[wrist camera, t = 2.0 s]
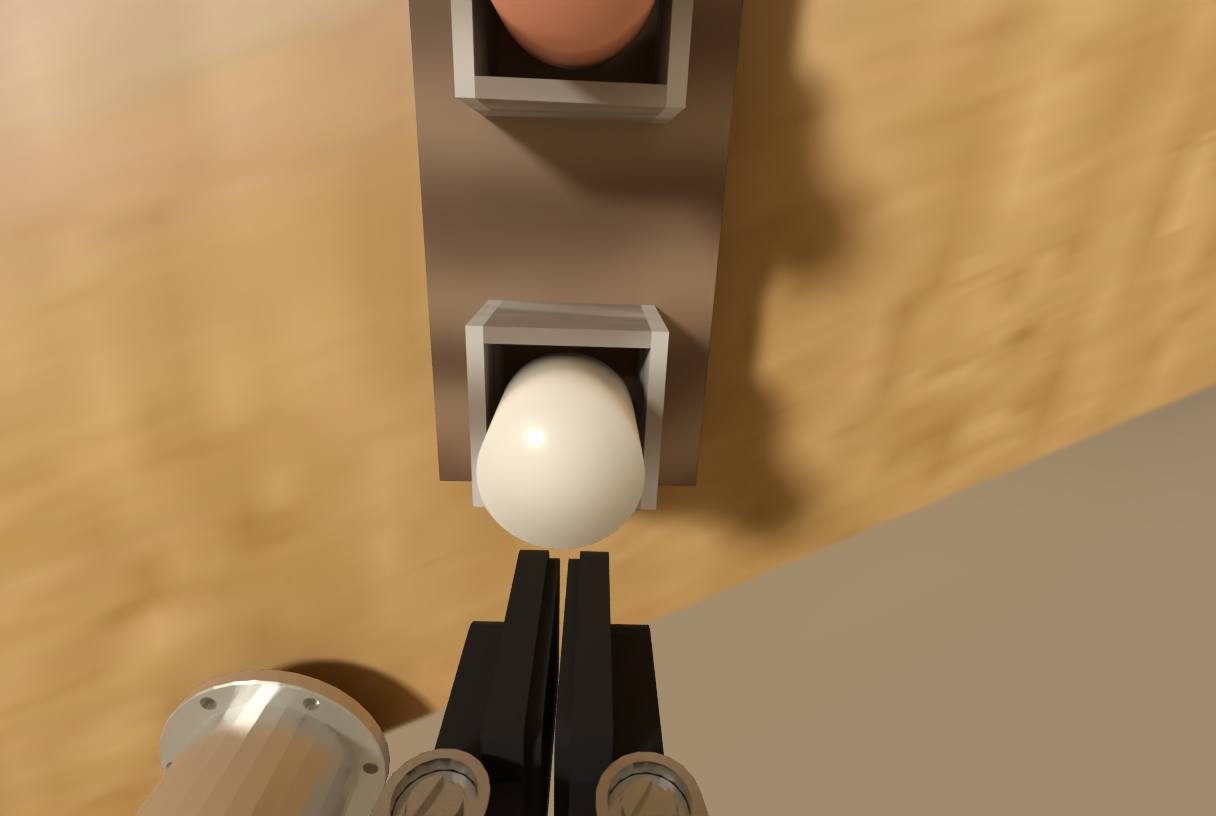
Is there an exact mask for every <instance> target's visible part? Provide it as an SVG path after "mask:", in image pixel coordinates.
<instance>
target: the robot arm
mask: <svg viewBox="0 0 1216 816" xmlns="http://www.w3.org/2000/svg"><path fill="white" fill-rule="evenodd" d="M559 605H560V559H559V558H549V550H520V551H519V555H518V560H517V564H516V569H515V574H514V579H513V583H512V588H511V593H510V597H509V602H508V607H507V612H506V616H505V621H504V622H487V621H473V622H472V623H471V625H470V628H469V631H468V635H467V638H466V641H465V645H464V648H463V652H462V655H461V659H460V662H459V666H458V669H457V673H456V676H455V680H454V683H453V687H452V690H451V694H450V697H449V701H448V704H447V708H446V711H445V715H444V718H443V722H442V725H441V729H440V732H439V736H438V739H437V743H436V746H435V750H432V751H428V752H424V753H422V754H420V755H418V756H416V757H414V758H412V759H410V760H409V761H407V762H406V763H405V764H403V765H402V766H401V767H400V768H399V769H398V770H397V771H396V772H394V773H393V775H392V776H391V778H390V779H389V780H388V782H387V783H386V780H387V777H388V774H389V762H390V756H389V751H388V745H387V742H386V740H385V737H384V735H383V733H382V731H381V728H380V727H379V725H378V724H377V723H376V721H375V720H374V719H373V717H372V716H371V715H370V713H369V712H368V711H367V710H365V709H364V708H363V707H362V706H361V705H360V704H359V703H358V702H357V701H356V700H355V699H353V698H352V697H350V696H349V695H347V694H346V693H344V692H343V691H341V690H340V689H338V688H336V687H334V686H332V685H329V684H327V683H325V682H323V681H321V680H319V679H315V678H312V677H309V676H305V675H302V674H299V673H293V672H287V671H280V670H247V671H240V672H233V673H229V674H226V675H223V676H220V677H217V678H214V679H211V680H210V681H208V682H206V683H204V684H202V685H200V686H199V687H197V688H195V689H194V690H193V691H192V692H191V693H190V694H189V695H187V696H186V697H185V698H184V699H183V700H182V701H181V703H180V704H179V705H178V707H177V708H176V709H175V710H174V712H173V713H172V714H171V715H170V717H169V718H168V720H167V722H166V724H165V726H164V728H163V730H162V732H161V738H160V743H159V754H160V763H161V766H162V769H163V771H164V775H163V776H162V778H161V779H160V780H159V782H158V783H157V785H156V786H155V787H154V789H153V790H152V791H151V793H150V794H149V796H148V797H147V798H146V800H145V801H144V802H143V804H142V805H141V807H140V808H139V809H138V811H137V812H136V813H135V815H134V816H367V815H368V814H369V813H370V811H371V810H372V811H371V813H370V815H369V816H548V804H549V792H550V780H551V779H550V778H551V768H552V767H551V766H552V755H553V743H554V731H555V754H554V758H555V759H554V760H555V761H554V763H555V764H554V816H709V815H708V812H707V809H706V806H705V803H704V800H703V797H702V793H701V791H700V789H699V787H698V785H697V783H696V781H695V779H694V777H693V776H692V775H691V774H690V773H689V772H688V771H687V770H686V768H684V766H683V765H681V764H680V763H678V762H676V761H675V760H673V759H672V758H670V757H668V756H665V755H664V752H663V743H662V734H661V725H660V716H659V707H658V698H657V689H656V680H655V670H654V662H653V652H652V643H651V635H650V628H649V625H627V624H610V583H609V552H592V551H580V559H569V561H568V574H567V586H566V599H565V611H564V623H563V636H562V648H561V661H560V674H559ZM558 678H559V686H558ZM557 694H558V698H557ZM556 706H557V710H556ZM555 718H556V726H555ZM385 783H386V785H385Z"/></svg>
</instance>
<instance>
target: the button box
mask: <svg viewBox="0 0 1216 816" xmlns="http://www.w3.org/2000/svg"><path fill="white" fill-rule="evenodd" d="M742 5H743V0H655V2H654V5H653V7H652V10H651V13H650V16H649V18H648V20H647V22H646V24H645V26H644V28H643V29H642V31H641V32H640V34H639V36H638V37H637V38H636V39H635V40H634V42H633V43H632V44H631V45H630V46H629V47H628V48H627V49H626V50H625V51H624V52H623V53H621V54H620V55H618V56H617V57H616V58H614V59H613V60H611V61H609V62H607V63H605V64H602V65H599V66H596V67H593V68H587V69H576V70H572V69H563V68H559V67H555V66H551V65H549V64H547V63H544V62H542V61H540V60H539V59H537V58H535V57H534V56H532V55H531V54H529V53H528V52H527V51H526V50H524V49H523V48H522V47H521V46H520V45H519V44H518V43H517V42H516V41H515V40H514V38H513V37H512V36H511V34H510V33H509V32H508V30H507V29H506V27H505V25H504V24H503V22H502V20H501V18H500V16H499V15H498V13H497V11H496V9H495V7H494V5H493V3H492V1H491V0H409V11H410V27H411V42H412V58H413V73H414V89H415V104H416V120H417V135H418V150H419V166H420V181H421V197H422V212H423V228H424V243H425V259H426V274H427V290H428V305H429V321H430V336H431V352H432V367H433V383H434V398H435V414H436V429H437V444H438V460H439V475H440V481H472V491H473V507H486V506H485V505H484V503H483V501H482V498H481V496H480V493H479V489H478V485H477V477H476V468H477V460H478V455H479V452H480V449H481V446H482V443H483V441H484V439H485V436H486V434H487V431H488V429H489V427H490V424H491V422H492V419H493V417H494V415H495V412H496V410H497V408H498V405H499V403H500V400H501V398H502V396H503V393H504V391H505V389H506V387H507V385H508V383H509V382H510V380H511V379H512V377H513V376H514V375H515V374H516V373H517V372H518V371H519V370H520V369H521V368H522V367H523V366H524V365H526V364H527V363H529V362H531V361H532V360H534V359H536V358H538V357H541V356H544V355H547V354H551V353H557V352H576V353H581V354H585V355H588V356H591V357H594V358H596V359H598V360H600V361H602V362H603V363H605V364H606V365H608V366H609V367H611V368H612V369H613V370H614V371H615V372H616V373H617V374H618V375H619V377H620V378H621V379H622V380H623V382H624V383H625V385H626V387H627V389H628V391H629V393H630V396H631V399H632V403H633V408H634V413H635V418H636V423H637V429H638V434H639V439H640V444H641V449H642V454H643V459H644V466H645V482H644V489H643V492H642V496H641V499H640V501H639V503H638V505H637V507H636V509H635V510H656V503H657V490H658V485H674V486H696V478H697V467H698V457H699V447H700V437H701V426H702V416H703V406H704V396H705V385H706V375H707V365H708V354H709V344H710V334H711V324H712V313H713V303H714V293H715V282H716V272H717V262H718V252H719V241H720V231H721V221H722V211H723V200H724V190H725V180H726V169H727V159H728V149H729V139H730V128H731V118H732V108H733V98H734V87H735V77H736V67H737V56H738V46H739V36H740V26H741V15H742Z"/></svg>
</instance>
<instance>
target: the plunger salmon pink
mask: <svg viewBox="0 0 1216 816" xmlns="http://www.w3.org/2000/svg"><path fill="white" fill-rule="evenodd" d="M491 1H492V3H493V5H494V7H495V9H496V11H497V13H498V15H499V16H500V18H501V20H502V22H503V24H504V25H505V27H506V29H507V30H508V32H509V33H510V34H511V36H512V37H513V38H514V40H515V41H516V42H517V43H518V44H519V45H520V46H521V47H522V48H523V49H524V50H526V51H527V52H528V53H529V54H531V55H532V56H534V57H535V58H537V59H539V60H540V61H542V62H544V63H547V64H549V65H551V66H555V67H559V68H563V69H572V70H576V69H587V68H593V67H596V66H599V65H602V64H605V63H607V62H609V61H611V60H613V59H614V58H616V57H617V56H618V55H620V54H621V53H623V52H624V51H625V50H626V49H627V48H628V47H629V46H630V45H631V44H632V43H633V42H634V40H635V39H636V38H637V37H638V36H639V34H640V32H641V31H642V29H643V28H644V26H645V24H646V22H647V20H648V18H649V16H650V13H651V10H652V7H653V5H654V2H655V0H491Z"/></svg>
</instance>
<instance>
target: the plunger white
mask: <svg viewBox="0 0 1216 816" xmlns="http://www.w3.org/2000/svg"><path fill="white" fill-rule="evenodd" d="M476 477H477V485H478V489H479V493H480V496H481V498H482V501H483V503H484V505H485V506H486V508H487V510H488V512H489V513H490V514H491V516H492V517H493V518H494V519H495V521H496V522H497V523H498V524H500V525H501V526H502V527H503V528H504V529H505V530H506V531H508V532H509V533H510V534H512V535H514V536H515V537H517V538H519V539H521V540H523V541H525V542H528V543H530V544H533V545H537V546H540V547H546V548H553V549H571V548H578V547H583V546H587V545H590V544H593V543H596V542H598V541H600V540H602V539H604V538H606V537H608V536H610V535H611V534H612V533H614V532H615V531H617V530H618V529H619V528H620V527H621V526H622V525H623V524H624V523H625V522H626V521H627V520H628V519H629V518H630V516H631V515H632V514H633V512H634V511H635V509H636V507H637V505H638V503H639V501H640V499H641V496H642V492H643V489H644V482H645V466H644V459H643V454H642V449H641V444H640V439H639V434H638V429H637V423H636V418H635V413H634V408H633V403H632V399H631V396H630V393H629V391H628V389H627V387H626V385H625V383H624V382H623V380H622V379H621V378H620V377H619V375H618V374H617V373H616V372H615V371H614V370H613V369H612V368H611V367H609V366H608V365H606V364H605V363H603V362H602V361H600V360H598V359H596V358H594V357H591V356H588V355H585V354H581V353H576V352H557V353H551V354H547V355H544V356H541V357H538V358H536V359H534V360H532V361H531V362H529V363H527V364H526V365H524V366H523V367H522V368H521V369H520V370H519V371H518V372H517V373H516V374H515V375H514V376H513V377H512V379H511V380H510V382H509V383H508V385H507V387H506V389H505V391H504V393H503V396H502V398H501V400H500V403H499V405H498V408H497V410H496V412H495V415H494V417H493V419H492V422H491V424H490V427H489V429H488V431H487V434H486V436H485V439H484V441H483V443H482V446H481V449H480V452H479V455H478V460H477V468H476Z"/></svg>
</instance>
